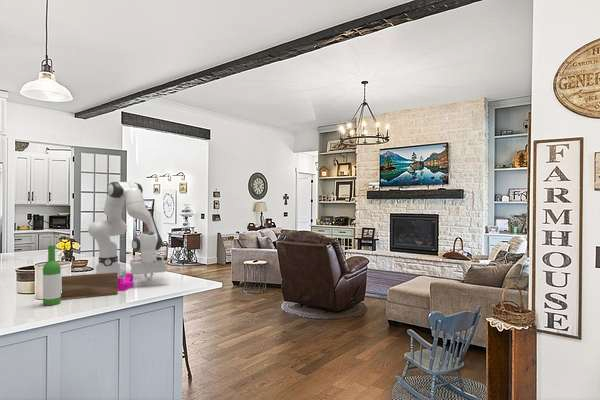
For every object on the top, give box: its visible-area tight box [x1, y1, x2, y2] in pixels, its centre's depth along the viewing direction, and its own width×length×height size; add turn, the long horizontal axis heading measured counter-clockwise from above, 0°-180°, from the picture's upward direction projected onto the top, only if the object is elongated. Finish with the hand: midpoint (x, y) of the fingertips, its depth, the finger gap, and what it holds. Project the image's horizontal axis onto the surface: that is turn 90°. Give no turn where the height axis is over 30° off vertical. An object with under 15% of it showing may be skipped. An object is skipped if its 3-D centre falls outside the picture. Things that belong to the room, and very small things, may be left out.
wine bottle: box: [42, 244, 62, 306], centre depth 194 cm, size 8×8×30 cm
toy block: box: [117, 272, 134, 292], centre depth 228 cm, size 15×6×8 cm, turn 176°
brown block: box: [61, 272, 119, 301], centre depth 212 cm, size 13×28×12 cm, turn 114°
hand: (148, 280), depth 232 cm, fingers closed
